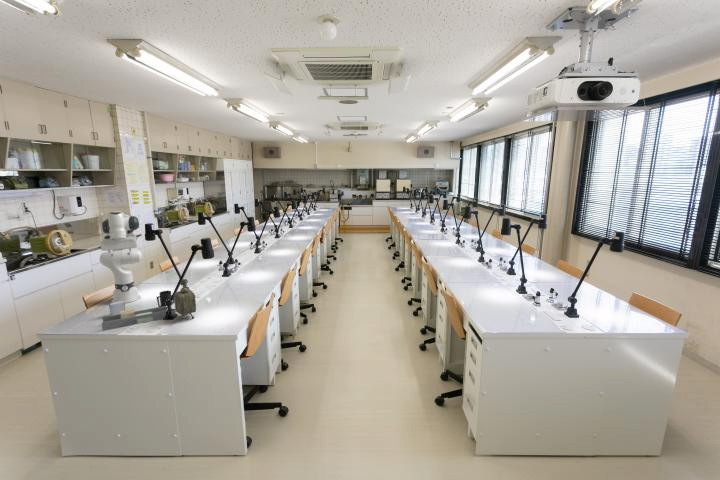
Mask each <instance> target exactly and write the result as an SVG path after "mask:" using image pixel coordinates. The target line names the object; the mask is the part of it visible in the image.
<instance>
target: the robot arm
mask: <svg viewBox="0 0 720 480" xmlns="http://www.w3.org/2000/svg"><path fill="white" fill-rule="evenodd" d="M100 228H101V230H102V232H103V233H104V234H106V235H103V236H101V239H102V240H100V241H101V242H100V250H101V251H102V253H101V254H100V255H99V262H100V263H101V265H102V266H105V267H107V268H108V269H109V270H111V272H112V274H113V276H114V277H113V278H114V288H115V289H114V290H113V293H112V294H113V298H112V300H111V301H110V304H111V303H115V302H119V301H123V302H125V304H128V303H132V302H135V301H137V300H139V299H141V298H142V296H141V295H140V294H138V293H139V292H138V288H137V287H136V286H135V280H134V276H133V272H132V270H130V269H128V268H124V267H123V266H124V265H125V266H126V265H132V264H133V265H134V264H136V263H140V262H141V261H142V260H143V253H142V252H141V251H140V250H139V249H137V248H138V244H137V240H138V236H137V235H135V234H132V233H134V232H135V231H137V229H140V220H139V218H138V217H137V216H135V215H128V214H126V213H124V212H123V211H120V210H113V211H112V212H109V213H108V218H106V219H105V220H103V221H102V223H101V225H100ZM103 251H104V252H103Z"/></svg>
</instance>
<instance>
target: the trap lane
mask: <svg viewBox="0 0 720 480" xmlns="http://www.w3.org/2000/svg"><path fill="white" fill-rule="evenodd" d="M166 310H167V307H166V306H163V307H159V306H157V307H154V308H153V307H152V308H147V309H141V310H134V315H135V316H134V317H129V318H123V319H121V314H118V315H112V316H110V315H107V316H103V317H102V322H101V326H102V331H107V330H108V331H109V330H112V329H118V328H122V327H128V326H133V325H137V324H139V325H140V324H143V323H148V322H154V321H158V320H163V318H164V317H165V315H166V312H167V311H166ZM164 319H165V318H164Z"/></svg>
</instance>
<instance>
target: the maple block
mask: <svg viewBox="0 0 720 480" xmlns="http://www.w3.org/2000/svg"><path fill="white" fill-rule="evenodd" d="M134 312H135V310H134V309H133V308H132V309H128V310H126V311H121V319H123V318H129V317H134V316H135V315H134Z"/></svg>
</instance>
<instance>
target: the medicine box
mask: <svg viewBox="0 0 720 480" xmlns="http://www.w3.org/2000/svg"><path fill="white" fill-rule="evenodd" d="M108 306H109V314H110V315H109V316H112V315H118V314H121V311H127V310H126V303H125V302H123V301H119V302H115V303H111V302H110V303H109V304H108Z"/></svg>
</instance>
